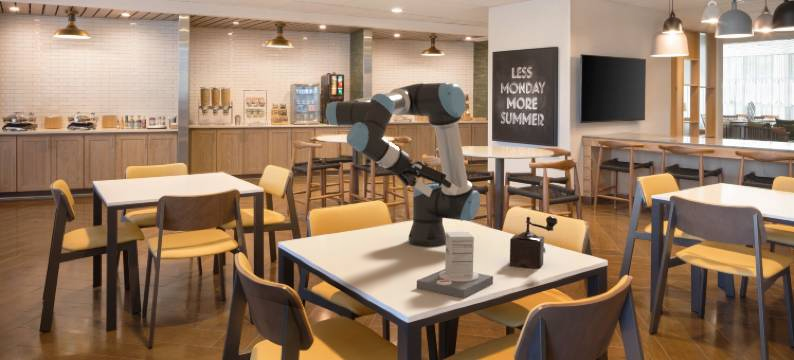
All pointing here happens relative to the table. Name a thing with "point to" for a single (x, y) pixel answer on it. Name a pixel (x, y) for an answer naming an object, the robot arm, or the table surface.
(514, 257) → the manual coffee grinder
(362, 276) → the table surface
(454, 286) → the scale
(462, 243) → the supplement box
